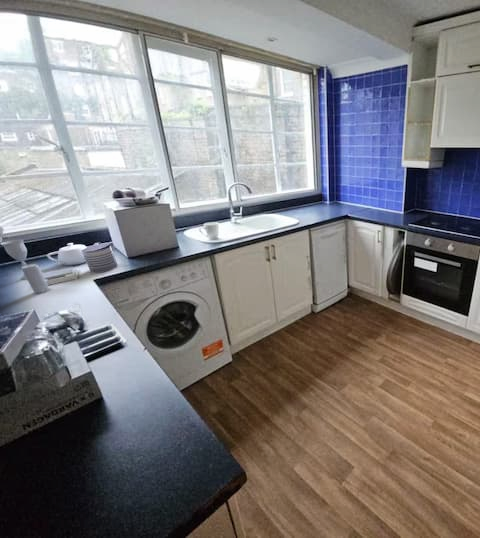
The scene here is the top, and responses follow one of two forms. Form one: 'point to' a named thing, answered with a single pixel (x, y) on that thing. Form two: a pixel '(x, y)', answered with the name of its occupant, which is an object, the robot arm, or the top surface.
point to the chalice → (16, 250)
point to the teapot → (70, 254)
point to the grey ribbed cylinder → (100, 258)
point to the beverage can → (35, 278)
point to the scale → (60, 275)
